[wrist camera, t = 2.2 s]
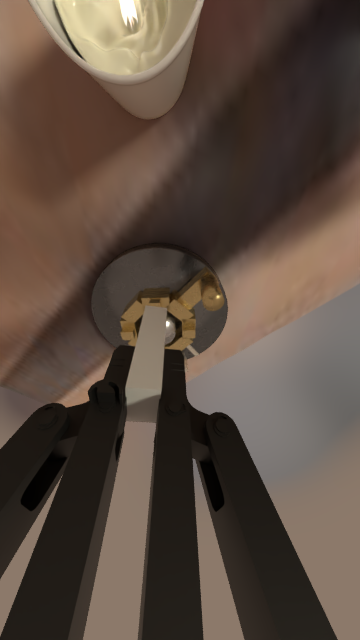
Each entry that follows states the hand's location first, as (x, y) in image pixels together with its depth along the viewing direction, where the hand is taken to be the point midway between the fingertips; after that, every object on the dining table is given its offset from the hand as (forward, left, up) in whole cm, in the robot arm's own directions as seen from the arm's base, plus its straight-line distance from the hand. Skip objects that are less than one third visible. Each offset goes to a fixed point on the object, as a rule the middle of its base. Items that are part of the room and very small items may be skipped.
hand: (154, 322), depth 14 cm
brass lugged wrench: (+5, +6, -14) cm, 16 cm away
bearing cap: (+8, +6, -18) cm, 20 cm away
